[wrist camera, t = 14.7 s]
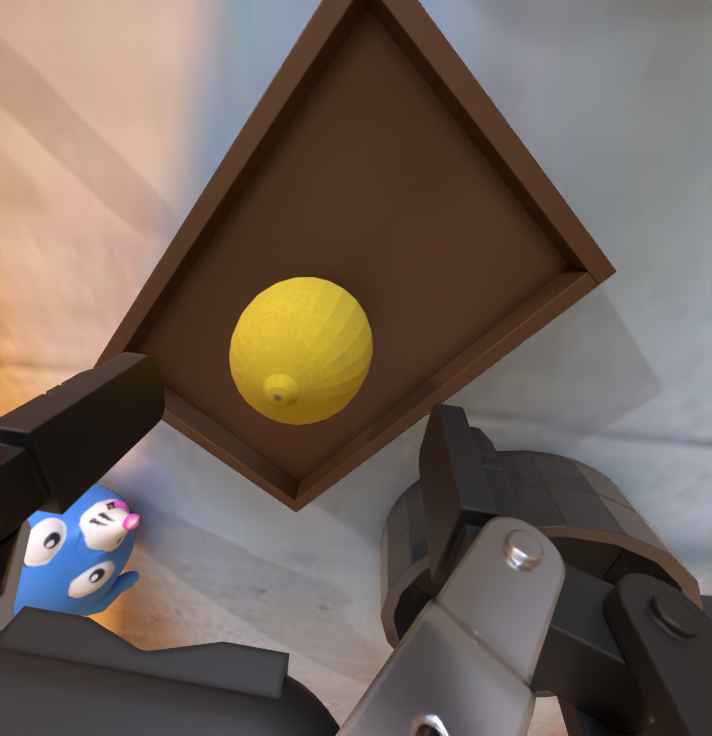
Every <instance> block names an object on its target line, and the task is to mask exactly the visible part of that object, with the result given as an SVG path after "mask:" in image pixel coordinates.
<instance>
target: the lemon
mask: <svg viewBox="0 0 712 736" xmlns="http://www.w3.org/2000/svg"><path fill="white" fill-rule="evenodd" d="M372 352H373V345H372V332H371V328H370V325H369V323H368V320H367V317H366V314H365V312H364V311H363V309H362V308H361V306H360V305H359V303H358V302H357V300H356V299H355V298H354V297H353V296H351V295H350V294H349V293H348V292H347V291H346V290H345V289H343V288H341V287H340V286H338V285H336V284H334V283H332V282H330V281H327V280H323V279H319V278H315V277H296V278H292V279H289V280H285V281H282V282H278V283H276V284H274V285H273V286H271V287H269V288H268V289H266V290H265V291H263V292H261V293H260V294H259V295H257V296H256V297H255V299H254V300H253V301H252V302H251V303H250V304H249V305H248V307H247V308H246V309H245V310H244V312H243V313H242V315H241V317H240V319H239V321H238V323H237V326H236V328H235V330H234V333H233V335H232V339H231V346H230V354H229V361H230V368H231V374H232V377H233V379H234V382H235V384H236V386H237V389H238V391H239V392H240V394H241V395H242V396H243V398H244V399H245V400H246V402H247V403H248V404H250V405H251V406H252V407H253V408H254V409H255V410H256V411H258V412H259V413H261V414H263V415H264V416H266V417H268V418H270V419H273V420H276V421H279V422H281V423H287V424H294V425H301V424H311V423H315V422H318V421H321V420H324V419H327V418H329V417H330V416H332V415H334V414H335V413H337V412H339V411H340V410H342V409H343V408H344V407H345V406H346V405H347V404H348V403H349V401H350V400H351V399H352V398H353V397H354V396H355V395H356V394H357V392H358V391H359V389H360V387H361V385H362V383H363V381H364V379H365V378H366V376H367V373H368V371H369V367H370V362H371V357H372Z"/></svg>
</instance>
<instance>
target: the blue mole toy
mask: <svg viewBox="0 0 712 736" xmlns="http://www.w3.org/2000/svg"><path fill="white" fill-rule="evenodd" d="M28 520H29V522H30V525H31V532H30V536H29V541H28V545H27V550H26V554H25V559H24V563H23V568H22V572H21V576H20V581H19V585H18V590H17V594H16V599H15V603H14V617H15V616H16V614H17V613H18V612H19V611H20V610H21V609H22V608H23V607H24V606H29V607H34V608H40V609H45V610H51V611H57V612H62V613H68V614H73V615H79V616H81V615H83V616H88V615H92V614H95V613H99V612H102V611H104V610H105V609H106V608H107V607H108V606H109V605H110V604H111V603H112V602H113V601H114V600H115V599H116V598H117V597H118V596H119V595H120V594H121V593H122V592H123V591H125V590H126V589H128V588H130V587H132V586H133V584H134V583H135V582H136V581H137V580H138V578H139V573H138V572H136V571H129V572H126V573H123V574H121V575H120V573H121V572H122V570H123V569H124V567H125V565H126V563H127V561H128V559H129V557H130V555H131V552H132V549H133V545H134V541H135V528H136V527H138V526H139V524H140V522H141V518H140V515H138V514H135V513H133V514H132V513H131V511H130V509H129V507H128V505H127V504H126V503H125V501H124V500H123V499H122V498H121V497H120V496H119V495H117V494H116V493H115V492H113V491H111V490H110V489H108V488H106V487H103V486H101V485H98V484H94V485H93V486H92V487H91V488H90V489H89V490H88V491H87V492H86V493H85V494H84V495H83V496H82V497H81V498H80V499H78V500H77V501H76V502H75V503H74V504H73V505H72V506H71V507H70V508H69V509H68V510H67V511H66V512H65V513H64V514H63V515H59V514H53V513H48V512H42V511H36V512H35V513H34V514H33V515H31V516H30V517H29V518H28ZM119 575H120V576H119Z"/></svg>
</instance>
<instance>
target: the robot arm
mask: <svg viewBox="0 0 712 736" xmlns="http://www.w3.org/2000/svg"><path fill="white" fill-rule="evenodd" d="M164 410H165V397H164V391H163V384H162V378H161V372H160V366H159V362H158V360H157V359H156V358H155V357H154V356H149V355H143V354H137V353H131V352H123V353H121V354H119V355H117V356H115V357H114V358H112V359H110V360H108V361H107V362H105V363H103V364H101V365H100V366H98V367H96V368H93V369H90V370H87V371H84V372H81V373H79V374H77V375H75V376H74V377H72V378H70V379H68V380H66V381H65V382H63V383H62V385H61V386H60V385H57V386H56V387H54V388H52V389H50V390H48V391H47V392H46V394H41V395H40V396H38V397H36V398H34V399H32V400H31V401H29V402H27V403H25V404H23V405H22V406H20V407H18V408H16V409H14V410H13V411H11V412H9V413H7V414H6V415H4V416H2V417H0V736H527V733H528V729H529V726H530V723H531V719H532V716H533V711H534V707H535V701H536V692H535V690H534V689H533V688H532V687H531V682H532V681H533V682H534V683H536V684H538V685H540V686H541V687H543V688H545V689H547V690H548V691H550V692H552V693H553V694H555V695H557V698H558V701H559V705H560V708H561V711H562V715H563V718H564V722H565V725H566V728H567V732H568V735H569V736H712V620H711V619H710V618H709V617H708V616H707V615H706V614H705V613H704V611H702V610H701V609H700V608H699V607H698V606H697V605H696V604H695V603H694V602H693V601H692V600H690V599H689V598H688V597H687V596H685V595H684V594H683V593H681V592H680V591H678V590H677V589H675V588H674V587H672V586H671V585H669V584H667V583H665V582H663V581H661V580H660V579H657V578H655V577H652V576H649V575H646V574H641V573H630V574H627V575H625V576H624V577H622V578H621V580H620V581H619V582H618V583H617V584H616V585H615V586H614V585H612V584H610V583H607V582H605V581H603V580H601V579H599V578H596V577H594V576H592V575H590V574H587V573H585V572H583V571H581V570H579V569H576V568H574V567H572V566H570V565H568V564H566V563H565V562H563V560H562V557H561V555H560V553H559V552H558V550H557V548H556V547H555V546H554V545H553V543H552V542H551V541H550V540H549V539H548V538H547V537H546V536H545V535H544V534H543V533H542V532H540V531H539V530H538V529H536V528H535V527H533V526H532V525H530V524H528V523H526V522H525V519H524V517H523V515H522V512H521V510H520V508H519V505H518V503H517V500H516V498H515V496H514V493H513V491H512V489H511V486H510V484H509V481H508V479H507V477H506V474H505V473H504V472H503V467H502V465H501V462H500V460H498V455H497V453H496V451H495V448H494V446H493V443H492V442H491V441H490V439H489V438H488V437H487V436H486V435H485V434H484V433H483V432H482V431H481V430H480V429H479V428H474V427H469V424H468V421H467V418H466V415H465V413H464V410H463V408H461V407H455V406H449V405H443V404H437V403H435V404H434V405H433V408H432V410H431V414H430V417H429V420H428V424H427V427H426V431H425V434H424V438H423V441H422V444H421V449H420V455H419V472H420V481H421V490H422V499H423V508H424V518H425V527H426V536H427V545H428V554H429V564H430V573H431V581H433V582H438V583H444V584H445V585H444V587H443V588H442V590H441V591H440V592H439V594H438V595H437V596H436V598H431V599H430V600H429V601H428V603H427V604H426V605H425V607H424V608H423V609H422V611H421V612H420V614H419V615H418V616H417V618H416V619H415V621H414V622H413V624H412V625H411V627H410V628H409V630H408V631H407V632H406V634H405V635H404V637H403V638H402V640H401V641H400V643H399V644H398V645H397V647H396V648H395V650H394V651H393V653H392V654H391V656H390V657H389V659H388V660H387V661H386V663H385V664H384V666H383V667H382V669H381V670H380V672H379V673H378V675H377V676H376V677H375V679H374V680H373V682H372V683H371V685H370V686H369V688H368V689H367V691H366V692H365V693H364V695H363V696H362V698H361V699H360V701H359V702H358V704H357V705H356V707H355V708H354V709H353V711H352V712H351V714H350V715H349V717H348V718H347V720H346V721H345V722H344V724H343V725H342V727H341V728H340V727H339V725H338V724H337V722H336V721H335V720H334V718H333V717H332V715H331V714H330V712H329V711H328V709H327V708H326V707H325V706H324V705H323V704H322V702H321V701H320V700H319V699H318V698H317V697H316V696H315V695H314V694H313V693H312V692H311V691H310V690H309V689H307V688H306V687H305V686H304V685H303V684H301V683H300V682H298V681H297V680H295V679H293V678H292V677H290V676H288V675H287V674H288V662H289V653H284V652H278V651H273V650H267V649H261V648H256V647H250V646H245V645H239V644H234V643H228V642H217V643H209V644H201V645H193V646H185V647H178V648H170V649H162V650H154V651H144V650H141V649H138V648H137V647H135V646H133V645H132V644H130V643H129V642H127V641H125V640H124V639H122V638H121V637H119V636H117V635H116V634H114V633H113V632H111V631H110V630H108V629H106V628H105V627H103V626H102V625H100V624H98V623H97V622H95V621H94V620H92V619H91V618H89V617H84V616H79V615H73V614H68V613H62V612H57V611H51V610H45V609H40V608H34V607H29V606H24V607H23V608H22V609H21V610H20V611H19V612H18V613H17V614H16V616H15V617H14V603H15V599H16V594H17V590H18V585H19V581H20V576H21V572H22V568H23V563H24V559H25V554H26V550H27V545H28V541H29V536H30V532H31V525H30V522H29V520H28V518H29V517H30V516H31V515H33V514H34V513H35V512H36V511H42V512H48V513H53V514H59V515H63V514H64V513H65V512H66V511H67V510H68V509H69V508H70V507H71V506H72V505H73V504H74V503H75V502H76V501H77V500H78V499H80V498H81V497H82V496H83V495H84V494H85V493H86V492H87V491H88V490H89V489H90V488H91V487H92V486H93V485H94V484H95V483H96V482H97V481H98V480H99V479H100V478H101V477H102V476H103V475H104V474H105V473H107V472H108V471H109V470H110V469H111V468H112V467H113V466H114V465H115V464H116V463H117V462H118V461H119V460H120V459H121V458H122V457H123V456H124V455H125V454H126V453H127V452H128V451H129V450H130V449H131V448H133V447H134V446H135V445H136V444H137V443H138V442H139V441H140V440H141V439H142V438H143V437H144V436H145V435H146V434H147V433H148V432H149V431H150V430H151V429H152V428H153V427H154V426H155V425H156V424H157V423H158V422H159V421H160V420H161V418H162V416H163V413H164Z"/></svg>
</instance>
